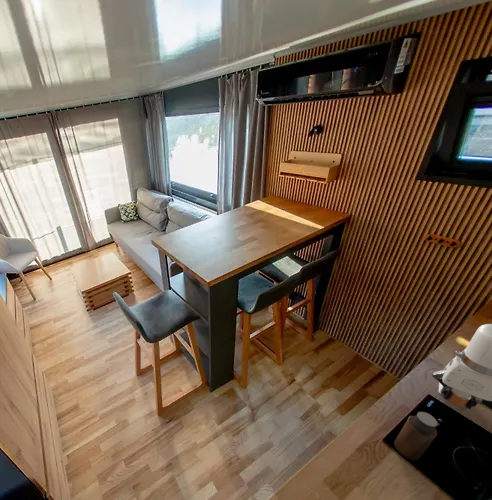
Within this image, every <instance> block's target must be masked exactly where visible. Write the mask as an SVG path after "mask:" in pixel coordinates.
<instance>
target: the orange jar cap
mask: <svg viewBox="0 0 492 500" xmlns="http://www.w3.org/2000/svg"><path fill="white" fill-rule="evenodd" d="M470 399H471V395H470V394H468V393H465V392H462V391H460V390H457V389H455V388H453V389H452V393H451V395H450V396H449V398H448V399H447V401H448V402H449V403H451V404H453V405H454V406H456V407H460V408H464V407H466V405H467V403H468V402H469V400H470Z"/></svg>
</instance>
